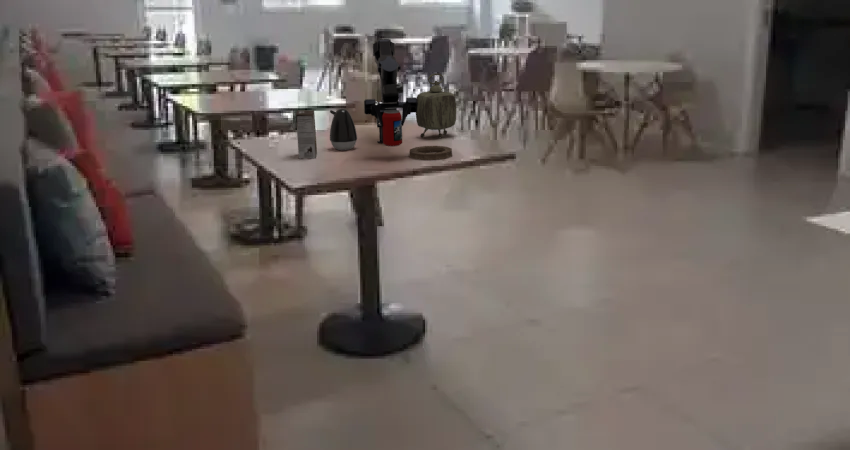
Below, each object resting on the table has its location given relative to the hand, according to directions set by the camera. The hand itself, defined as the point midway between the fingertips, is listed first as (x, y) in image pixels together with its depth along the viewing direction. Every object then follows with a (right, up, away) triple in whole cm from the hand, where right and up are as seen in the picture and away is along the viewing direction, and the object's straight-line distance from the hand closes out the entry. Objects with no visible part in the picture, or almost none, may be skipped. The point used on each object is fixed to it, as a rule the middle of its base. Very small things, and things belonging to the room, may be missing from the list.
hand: (392, 125), depth 285 cm
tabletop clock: (+16, 0, +42) cm, 45 cm away
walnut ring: (+13, -10, +8) cm, 19 cm away
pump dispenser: (-19, -6, +24) cm, 31 cm away
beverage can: (0, -7, +3) cm, 7 cm away
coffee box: (-31, -10, +13) cm, 35 cm away
